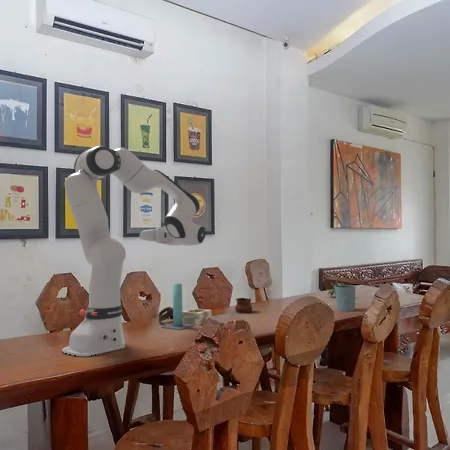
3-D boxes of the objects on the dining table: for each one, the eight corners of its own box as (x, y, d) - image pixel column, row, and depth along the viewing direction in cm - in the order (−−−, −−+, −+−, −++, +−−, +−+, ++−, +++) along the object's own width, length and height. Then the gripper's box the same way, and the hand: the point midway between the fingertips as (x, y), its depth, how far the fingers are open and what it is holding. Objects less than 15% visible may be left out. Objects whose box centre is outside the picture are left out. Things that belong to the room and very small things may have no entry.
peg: (178, 327, 192) (177, 284, 192) (171, 326, 194) (170, 284, 194) (184, 325, 195) (183, 283, 195) (177, 324, 197) (176, 283, 197)
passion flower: (343, 306, 270) (354, 290, 266) (332, 305, 263) (343, 289, 259) (332, 294, 278) (342, 278, 274) (320, 292, 271) (331, 276, 267)
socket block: (198, 325, 197) (198, 313, 197) (180, 322, 202) (180, 311, 202) (211, 321, 205) (211, 310, 205) (194, 319, 211) (194, 308, 211)
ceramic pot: (261, 308, 235) (260, 295, 235) (262, 315, 218) (261, 301, 218) (226, 310, 236) (226, 296, 236) (224, 317, 219) (224, 302, 219)
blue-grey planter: (355, 312, 221) (354, 287, 221) (334, 311, 224) (333, 287, 224) (356, 308, 231) (355, 285, 231) (336, 307, 234) (335, 284, 234)
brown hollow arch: (182, 325, 199) (172, 310, 197) (163, 335, 200) (154, 320, 198) (183, 314, 210) (174, 299, 209) (166, 322, 211) (157, 308, 209)
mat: (179, 330, 187) (179, 329, 187) (161, 327, 193) (161, 326, 193) (194, 325, 196) (194, 324, 196) (176, 323, 201) (176, 322, 201)
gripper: (187, 227, 201) (163, 228, 209) (156, 227, 184) (131, 228, 192) (187, 242, 201) (163, 242, 209) (156, 242, 184) (131, 242, 191)
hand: (148, 235), depth 200 cm, fingers open, 8 cm apart
